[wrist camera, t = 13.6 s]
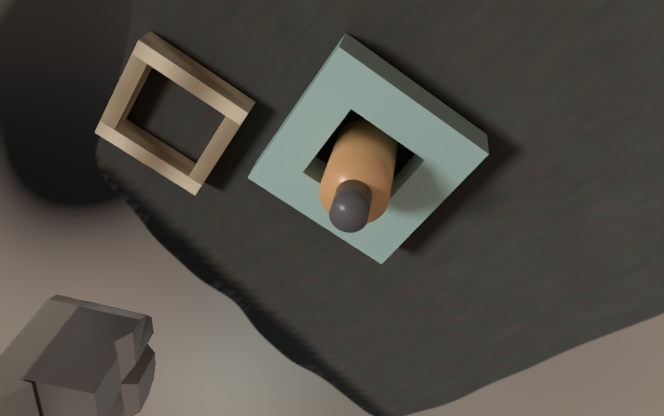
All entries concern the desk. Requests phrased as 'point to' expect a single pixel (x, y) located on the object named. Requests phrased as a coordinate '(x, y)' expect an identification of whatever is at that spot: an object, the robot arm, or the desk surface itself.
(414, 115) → the socket block
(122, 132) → the square wooden frame
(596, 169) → the desk surface
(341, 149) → the plug
